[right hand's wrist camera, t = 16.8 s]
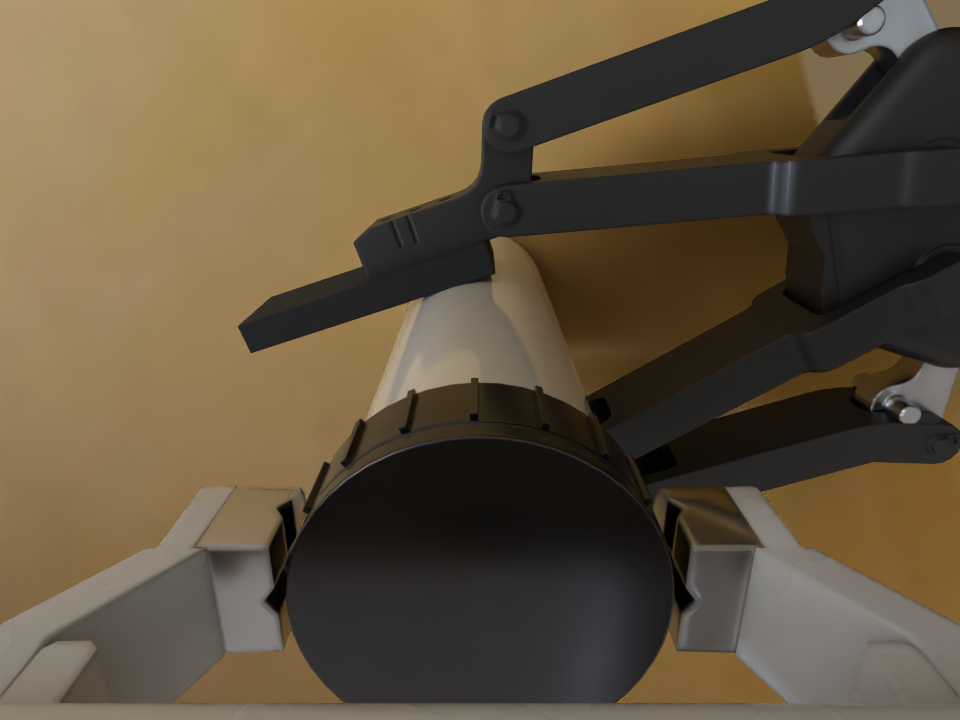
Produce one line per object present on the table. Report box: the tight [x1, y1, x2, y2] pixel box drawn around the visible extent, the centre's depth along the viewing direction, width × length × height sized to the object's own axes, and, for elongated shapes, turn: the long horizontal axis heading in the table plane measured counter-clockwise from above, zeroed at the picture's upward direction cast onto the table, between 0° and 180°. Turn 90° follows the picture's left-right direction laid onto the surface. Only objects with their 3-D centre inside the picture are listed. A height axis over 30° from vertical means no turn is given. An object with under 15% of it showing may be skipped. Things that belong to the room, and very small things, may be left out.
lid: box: [286, 378, 675, 703], centre depth 9 cm, size 5×5×2 cm
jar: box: [365, 237, 592, 421], centre depth 16 cm, size 5×5×15 cm
